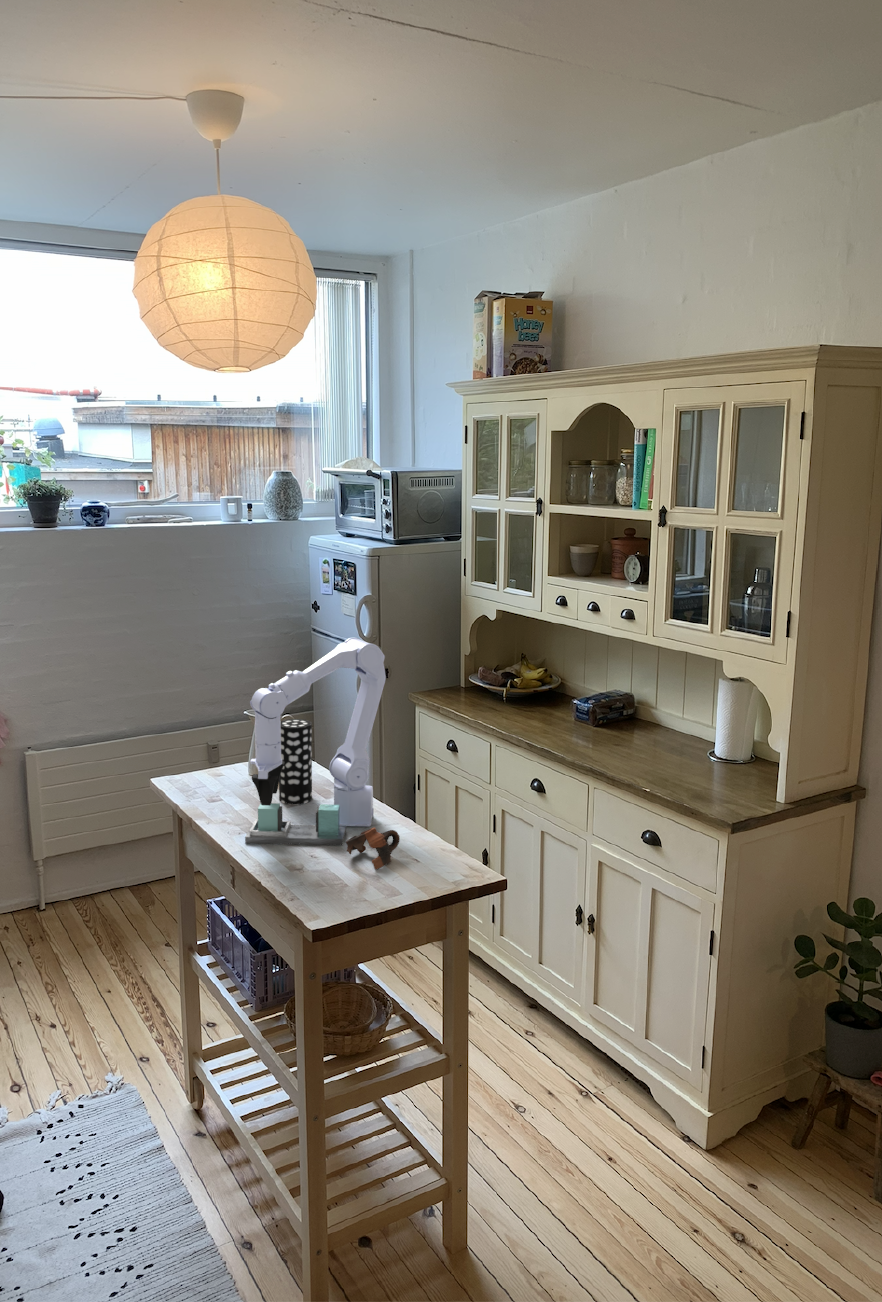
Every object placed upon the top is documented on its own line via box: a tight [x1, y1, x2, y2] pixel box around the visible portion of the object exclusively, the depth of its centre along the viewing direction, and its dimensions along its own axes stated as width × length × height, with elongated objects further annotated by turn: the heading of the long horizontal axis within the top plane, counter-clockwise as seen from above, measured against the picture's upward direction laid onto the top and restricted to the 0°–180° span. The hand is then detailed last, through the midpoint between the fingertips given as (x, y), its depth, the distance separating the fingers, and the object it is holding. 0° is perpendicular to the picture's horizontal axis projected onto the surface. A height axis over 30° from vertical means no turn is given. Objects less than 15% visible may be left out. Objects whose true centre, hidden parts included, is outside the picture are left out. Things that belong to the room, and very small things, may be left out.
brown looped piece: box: [345, 827, 400, 871], centre depth 212 cm, size 12×10×8 cm
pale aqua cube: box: [257, 802, 283, 831], centre depth 223 cm, size 5×4×6 cm
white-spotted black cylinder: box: [278, 718, 313, 805], centre depth 246 cm, size 8×8×20 cm
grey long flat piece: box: [244, 803, 347, 846], centre depth 223 cm, size 22×8×8 cm, turn 90°
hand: (269, 798), depth 222 cm, fingers open, 7 cm apart
